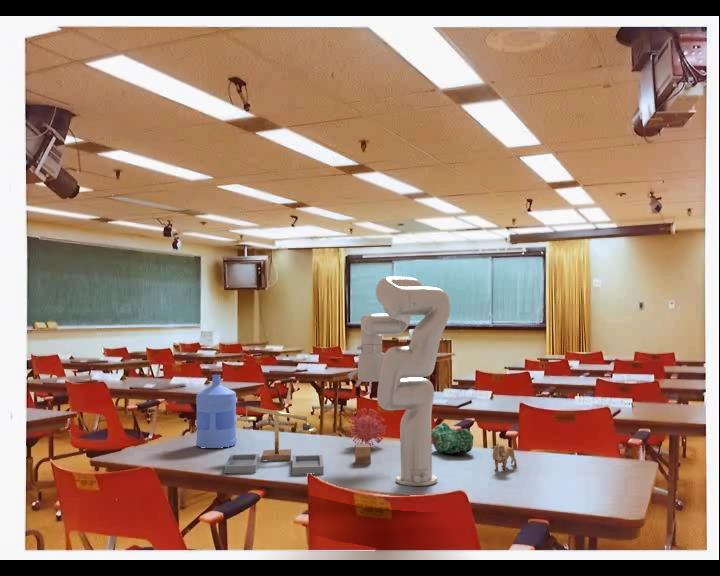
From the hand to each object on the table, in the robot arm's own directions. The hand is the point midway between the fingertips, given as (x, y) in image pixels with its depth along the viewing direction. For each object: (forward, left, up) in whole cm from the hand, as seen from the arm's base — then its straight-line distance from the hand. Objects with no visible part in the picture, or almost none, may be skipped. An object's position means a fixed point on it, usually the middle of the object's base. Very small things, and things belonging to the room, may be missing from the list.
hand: (372, 397), depth 236 cm
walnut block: (-5, +4, -22) cm, 23 cm away
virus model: (+22, 0, -22) cm, 31 cm away
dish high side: (-6, +45, -22) cm, 50 cm away
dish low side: (-11, +23, -22) cm, 34 cm away
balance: (+7, +34, -22) cm, 41 cm away
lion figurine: (-22, -41, -22) cm, 52 cm away
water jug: (+34, +59, -22) cm, 72 cm away
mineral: (+7, -30, -22) cm, 38 cm away
